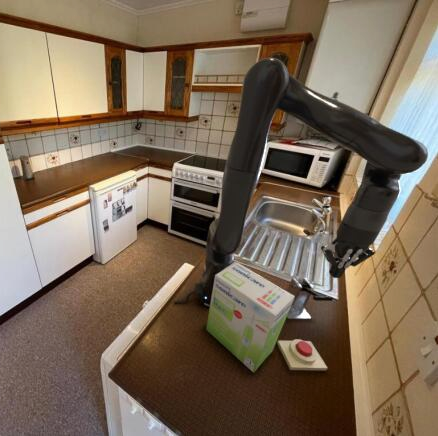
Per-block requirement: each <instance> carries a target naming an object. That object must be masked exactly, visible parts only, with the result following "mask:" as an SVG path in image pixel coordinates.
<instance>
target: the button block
mask: <svg viewBox="0 0 438 436" xmlns="http://www.w3.org/2000/svg"><path fill="white" fill-rule="evenodd" d="M300 341H304V342H306V343H308V344H309V345H310V346H311V347H312V353H311V354H310V356H308V357H305V356H302V355H301V354H300V353H299V352H298V351H297V349H296V346H297V344H298V342H300ZM276 344H277V346H278V349H279V350H280V352H281V355H282V356H283V359H284V361H285V363H286V364H287V366H288V369H289V370H290V371H327V370H328V366H327V365H326V363H325V361H324V360H323V358H322V356H321V355H320V353H319V352H318V351H317V349H316V347H315V346H314V344H313V343H312V341H311V340H302V339H293V340H277V341H276Z"/></svg>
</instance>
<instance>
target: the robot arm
mask: <svg viewBox="0 0 438 436" xmlns="http://www.w3.org/2000/svg"><path fill="white" fill-rule="evenodd" d="M277 110H279V111H281V112H283V113H286V114H287V115H289V116H291V117H293V118H295V119H297V120H298V121H300V122H301V123H303V124H304V125H306V126H307V127H308V128H310V129H312V130H313V131H314V132H316V133H317V134H319V135H320V136H322V137H323V138H326V139H327V140H329V141H331V142H332V143H334V144H336V145H337V146H340V147H341V148H343V149H345V150H348V151H351V152H353V153H354V154H356V155H358V156H359V157H360V158H362V159H364V160H365V161H366V163H365V167H364V170H363V174H362V178H361V182H360V185H359V187H358V188H357V190H356V192H355V193H354V196H353V198H352V201H351V203H350V204H349V206H348V207H347V208H346V210H345V212H344V214H343V217H342V219H341V221H340V223H339V226H338V227H337V229H336V238H334V239H333V241H332V242H331V244H330V245H328V246H326V245H322V246H321V247H320V250H321V252H322V254H323V256H324V257H325V260H326V261H327V262H328V263H329V264H330V265H331V267H330V269H329V270H328V273H329V275H330V276H331V277H332V278H334V279H341V277H342V276H343V275H344V274H345V272H346V270H347V269H348V268H350V267H353V268H354V267H356V266H358V265H360V264H361V263H363V262H365V261H366V260H368V259H369V258H371V257H373V256H374V255H375V254H376V252H375V251H374V250H373V249H372V248H370V246H372V245H374V244H375V241H376V240H377V238H378V237H379V234H380V233H381V231H382V229H383V227H384V226H385V224H386V222H387V220H388V219H389V214H390V212H391V211H392V209H393V207H394V205H395V203H396V201H397V200H398V198H399V196H400V193H401V187H400V186H401V185H400V179H401V177H402V176H404V175H407V174H411V173H414V172H417V171H418V170H419V169H421V168H422V167H423V166H424V165H425V164H426V162H427V161H428V158H429V152H428V149H427V147H426V145H424V144H423V143H422V142H421V141H419V140H417V139H414V138H412V137H411V136H409V135H406V134H404V133H402V132H400V131H397V130H394V129H393V128H390V127H388V126H386V125H384V124H383V123H381V122H380V121H378V120H377V119H375V118H374V117H372V116H370V115H369V114H366V113H364V112H362V111H360V110H358V109H356V108H355V107H353V106H351V105H348V104H346V103H344V102H342V101H339V100H336V99H335V98H332V97H329V96H327V95H324V94H322V93H320V92H317V91H316V90H313V89H311V88H310V87H308V86H306V85H305V84H303V83H302V82H301V81H299V80H298V79H296V78H295V77H294V76H293V75H292V74H291V73H290V72H289V71H288V68H287V66H286V65H285V63H284V62H283V61H281V59H278V58H276V57H264V58H261V59H259V60H257V62H255V63H254V64H252V65H251V66H250V68H249V69H248V70H247V71H246V72H245V76H244V77H243V81H242V87H241V95H240V104H239V112H238V118H237V124H236V129H235V131H234V134H233V137H232V140H231V144H230V146H229V150H228V154H227V157H226V161H225V165H224V169H223V175H222V179H221V189H220V190H221V191H220V212H219V216H218V218H215V219H214V220H213V221H212V222H211V223H210V225H209V227H208V230H207V231H208V232H207V238H206V244H205V245H206V246H205V258H204V263H203V264H204V265H203V269H202V273H201V274H200V278H199V283H194V288H193V290H192V291H190V292H189V293H188V294H187V295H186V298H185V300H175V301H174V304H181V305H182V304H186V303H187V302H189V299H190V296H191V295H193V294H194V295H195V298H196V300H199V303H200V305H201V306H205V307H207V308H209V309H210V303H211V297H212V291H213V286H214V279H215V275H216V274H218V273H219V272H221V271H222V270H224V269H225V268H227V267H228V266H230V265H231V264H233V263H234V262H235V252H237V251H238V250H239V248H240V247H241V245H242V243H243V236H244V231H245V224H246V220H247V215H248V213H249V210H250V207H251V204H252V201H253V198H254V195H255V191H256V189H257V185H258V184H259V180H260V175H261V173H262V169H263V166H264V163H265V157H266V151H267V145H268V144H267V143H268V137H269V133H270V132H269V131H270V129H271V128H270V127H271V124H272V121H273V119H274V116H275V114H276V111H277Z"/></svg>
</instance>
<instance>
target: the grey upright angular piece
mask: <svg viewBox="0 0 438 436" xmlns="http://www.w3.org/2000/svg"><path fill="white" fill-rule="evenodd" d="M298 282H299V281H298V280H297V279H296V278H295V277H291V280H290V283H289V284H288V287H287V290H286V291H287V292H288V293H290V294H292V295H294V296H295V297H294V300H293V302H292V305H291V307H290V310H289V312H288V315H287V317H286V319H288V320H289V319H290V320H291V319H293V320H295V319H296V320H312V316H311V315H310V314H309V313H308V311H307V310H306V309H305V308H306V306H307V303H308V302H309V299H310V297H311V296H312V295H311V294H310V293H308V292H306V291H301V288H302V287H301V285H300V284H299V283H298ZM301 282H303V283H305V284H307V288H309V289H311V290H313V291H314V289H315V286H314V285H313V284H312V283H311V281H310V280H309V279H308V278H307V277H304V278H302V281H301Z"/></svg>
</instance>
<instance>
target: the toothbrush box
mask: <svg viewBox="0 0 438 436" xmlns="http://www.w3.org/2000/svg"><path fill="white" fill-rule="evenodd" d="M294 297H295V296H294V295H292V294H290V293H288V292H287V290H284V289H283V288H281V287H280V286H278V285H276V284H275V283H273V282H271V281H270V280H269V279H266V278H265V277H263V276H262V275H259V274H258V273H256V272H255V271H254V270H251V269H249V268H248V267H246V266H244V265H242V264H241V263H239V262H238V261H234V263H233V264H231V265H230V266H228V267H227V268H225V269H224V270H222V271H221V272H219V273H218V274H216V275H215V279H214V286H213V291H212V297H211V303H210V308H209V310H208V316H207V322H206V328H205V330H206V331H207V332H208V333H209V334H210V335H212V336H213V338H215V339H216V340H217V341H218V342H219V343H220V344H221V345H223V347H224V348H226V349H227V350H228V351H229V352H230V353H231V354H232V355H233V356H234V357H236V358H237V359H238V360H239V361H240V362H241V363H242V364H243V365H244V366H245V367H246V368H248V369H249V370H250V371H251V372H252V373H253V374H254V373H255V372H256V371H257V370H258V369H259V367H260V366H261V365H262V364H263V363H264V362H265V360H266V359H268V357H269V356H270V355H271V353H273V351H274V348H275V346H276V344H277V342H278V339H279V336H280V334H281V331H282V329H283V326H284V325H285V322H286V319H287V315H288V312H289V310H290V307H291V305H292V302H293V300H294Z"/></svg>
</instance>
